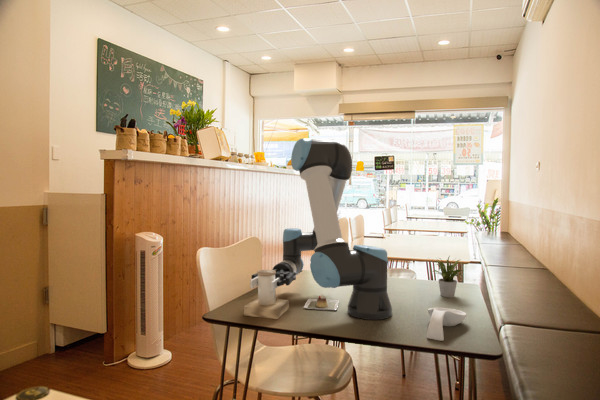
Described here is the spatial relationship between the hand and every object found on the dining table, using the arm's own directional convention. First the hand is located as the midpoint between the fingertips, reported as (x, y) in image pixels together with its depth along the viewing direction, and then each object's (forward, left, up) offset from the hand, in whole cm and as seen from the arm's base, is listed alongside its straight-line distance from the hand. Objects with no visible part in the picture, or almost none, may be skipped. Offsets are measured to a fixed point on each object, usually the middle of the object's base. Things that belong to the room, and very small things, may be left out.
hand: (261, 285), depth 135 cm
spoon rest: (-58, -7, -11) cm, 59 cm away
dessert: (-16, -19, -11) cm, 27 cm away
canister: (0, -5, -7) cm, 9 cm away
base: (0, -5, -10) cm, 12 cm away
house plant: (-60, -47, -11) cm, 77 cm away
